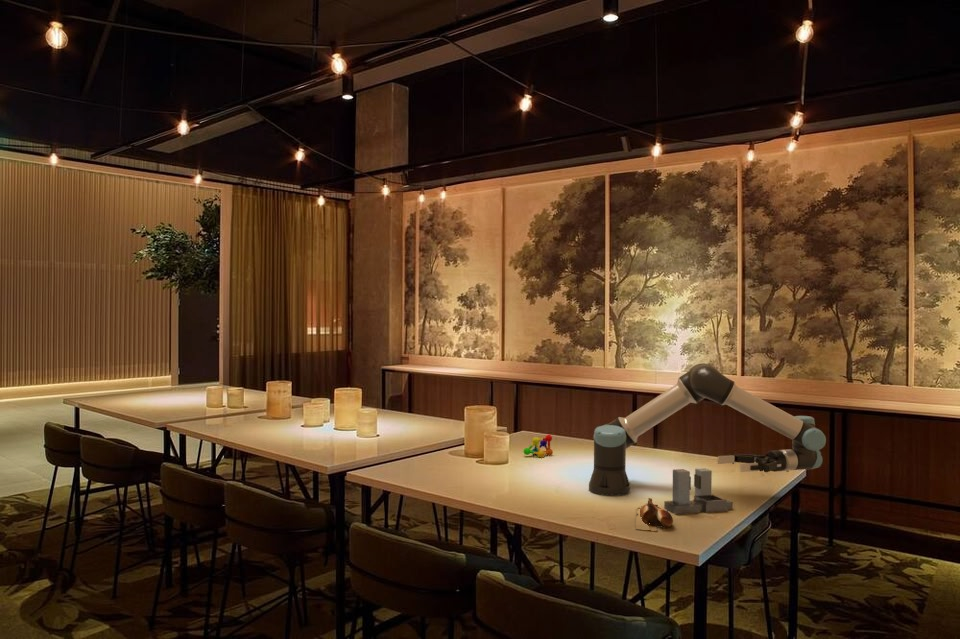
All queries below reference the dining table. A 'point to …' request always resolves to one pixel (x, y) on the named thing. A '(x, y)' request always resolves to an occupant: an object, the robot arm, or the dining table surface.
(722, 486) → the dining table surface
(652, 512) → the ballet pointe shoes
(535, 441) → the molecular model
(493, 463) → the dining table surface
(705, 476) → the gray rectangular block
